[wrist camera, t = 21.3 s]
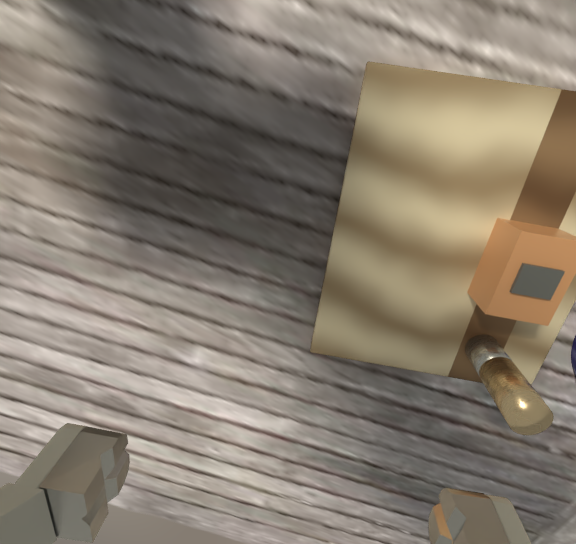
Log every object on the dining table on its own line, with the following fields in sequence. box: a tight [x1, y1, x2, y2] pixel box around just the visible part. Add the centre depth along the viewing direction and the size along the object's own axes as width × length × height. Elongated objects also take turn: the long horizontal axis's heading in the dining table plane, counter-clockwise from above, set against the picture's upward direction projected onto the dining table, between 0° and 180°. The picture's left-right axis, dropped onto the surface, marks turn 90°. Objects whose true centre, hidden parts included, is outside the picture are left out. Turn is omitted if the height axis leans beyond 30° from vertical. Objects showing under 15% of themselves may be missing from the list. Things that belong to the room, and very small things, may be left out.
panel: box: [310, 62, 576, 385], centre depth 31 cm, size 26×22×1 cm
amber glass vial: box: [465, 334, 553, 435], centre depth 30 cm, size 3×3×9 cm
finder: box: [467, 218, 576, 326], centre depth 29 cm, size 7×5×4 cm
